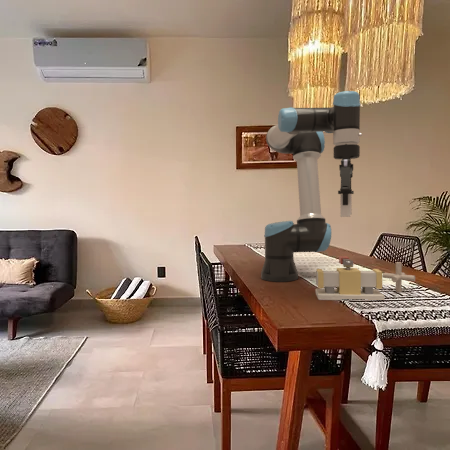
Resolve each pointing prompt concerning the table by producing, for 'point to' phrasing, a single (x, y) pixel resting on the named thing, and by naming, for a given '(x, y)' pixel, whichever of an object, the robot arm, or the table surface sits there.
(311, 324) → the table surface
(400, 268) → the pipe connector
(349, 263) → the valve lever
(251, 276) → the table surface
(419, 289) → the table surface
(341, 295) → the valve base
